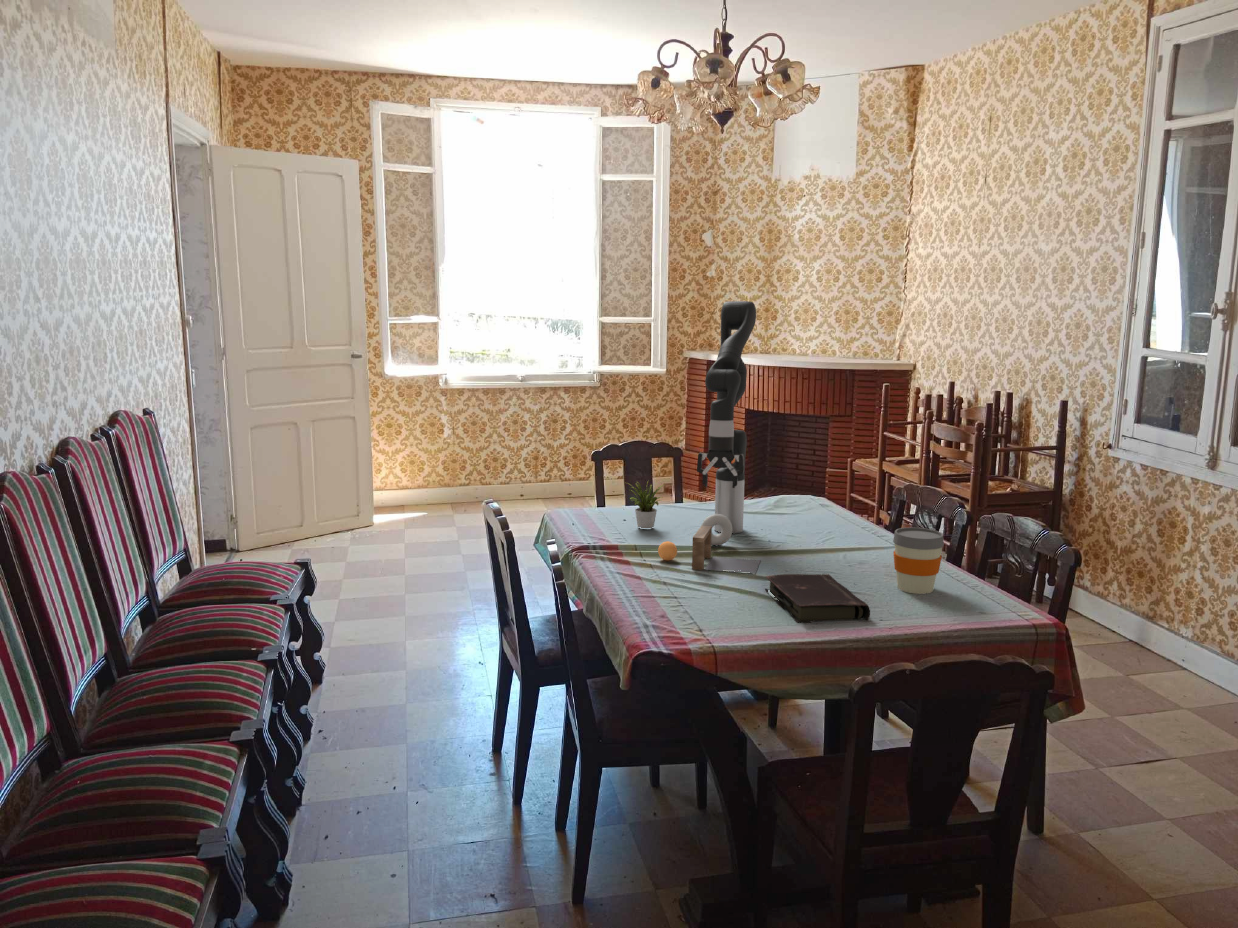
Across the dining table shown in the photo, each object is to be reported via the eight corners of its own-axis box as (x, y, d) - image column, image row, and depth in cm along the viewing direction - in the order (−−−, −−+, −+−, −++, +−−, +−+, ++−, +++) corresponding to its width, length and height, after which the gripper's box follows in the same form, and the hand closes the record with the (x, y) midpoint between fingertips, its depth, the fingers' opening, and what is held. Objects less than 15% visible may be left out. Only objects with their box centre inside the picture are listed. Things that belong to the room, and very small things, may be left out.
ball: (660, 556, 273) (660, 538, 272) (678, 558, 271) (679, 540, 270) (656, 561, 267) (656, 543, 266) (674, 563, 266) (675, 544, 265)
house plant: (614, 531, 302) (615, 481, 299) (626, 521, 315) (627, 474, 312) (657, 534, 298) (658, 484, 295) (667, 525, 311) (668, 477, 308)
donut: (701, 547, 283) (702, 515, 281) (698, 544, 286) (699, 513, 285) (733, 546, 285) (734, 514, 283) (730, 543, 288) (731, 512, 286)
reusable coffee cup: (907, 597, 237) (911, 540, 234) (881, 583, 249) (884, 528, 246) (950, 593, 240) (954, 537, 238) (922, 579, 252) (926, 525, 250)
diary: (830, 591, 245) (831, 572, 244) (869, 623, 220) (871, 603, 219) (761, 592, 242) (762, 574, 241) (793, 625, 217) (795, 605, 217)
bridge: (691, 569, 260) (692, 537, 259) (700, 555, 274) (701, 525, 272) (702, 570, 259) (703, 538, 258) (710, 556, 273) (711, 526, 272)
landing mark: (712, 557, 273) (712, 556, 273) (760, 560, 269) (760, 560, 269) (704, 570, 260) (704, 569, 260) (755, 574, 256) (755, 573, 256)
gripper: (745, 434, 288) (743, 486, 290) (699, 432, 290) (698, 484, 292) (744, 436, 280) (742, 490, 282) (696, 435, 283) (695, 487, 285)
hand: (719, 487), depth 287 cm, fingers open, 8 cm apart
